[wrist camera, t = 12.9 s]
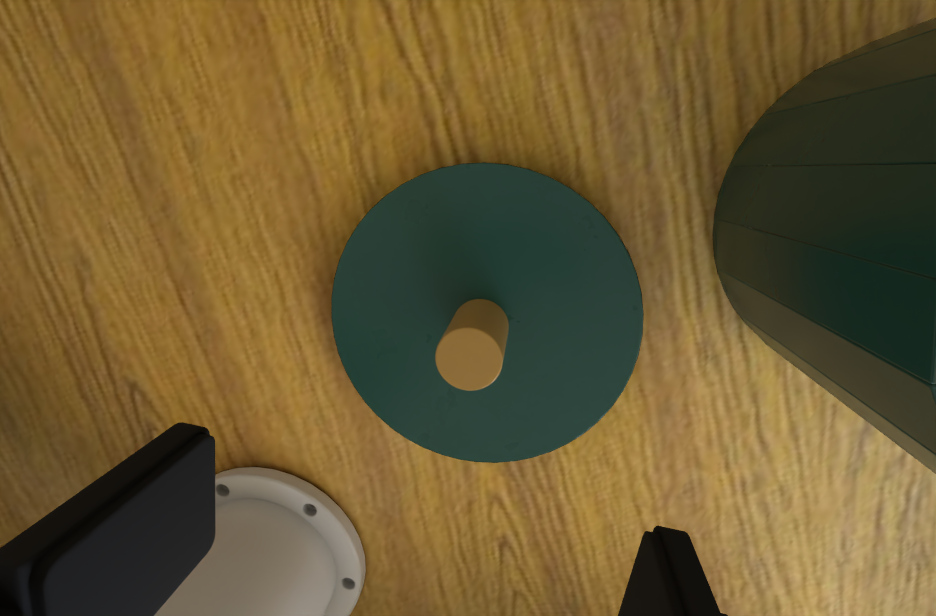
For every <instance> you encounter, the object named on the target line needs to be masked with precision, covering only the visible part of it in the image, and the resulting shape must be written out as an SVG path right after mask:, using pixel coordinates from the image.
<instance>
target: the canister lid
mask: <svg viewBox="0 0 936 616" xmlns="http://www.w3.org/2000/svg"><path fill="white" fill-rule="evenodd" d="M332 324H333V332H334V338H335V341H336V345H337V349H338V353H339V356H340V358H341V361H342V363H343V366H344V368H345V371H346V373H347V374H348V376H349V378H350V380H351V382H352V384H353V385H354V387H355V389H356V390H357V391H358V393H359V394H360V396H361V397H362V398H363V400H364V401H365V403H366V404H367V405H368V406H369V407H370V408H371V409H372V410H373V411H374V412H375V414H376V415H377V416H378V417H379V418H381V419H382V420H383V421H384V422H385V423H386V424H387V425H389V426H390V427H391V428H392V429H394V430H395V431H397V432H398V433H399V434H401V435H402V436H404V437H405V438H407V439H408V440H410V441H412V442H414V443H416V444H418V445H420V446H422V447H423V448H426V449H429V450H431V451H434V452H436V453H439V454H441V455H445V456H449V457H452V458H456V459H461V460H467V461H474V462H492V463H498V462H510V461H518V460H523V459H528V458H533V457H536V456H539V455H542V454H545V453H548V452H551V451H553V450H555V449H557V448H560V447H562V446H564V445H566V444H568V443H570V442H571V441H573V440H574V439H576V438H577V437H579V436H581V435H582V434H584V433H585V432H586V431H587V430H589V429H590V428H591V427H592V426H593V425H595V424H596V423H597V422H598V421H599V420H600V419H601V418H602V417H603V416H604V415H605V414H606V413H607V412H608V410H609V409H610V408H611V407H612V406H613V405H614V403H615V402H616V400H617V399H618V397H619V396H620V395H621V393H622V392H623V390H624V388H625V386H626V384H627V382H628V380H629V378H630V376H631V374H632V372H633V369H634V366H635V363H636V360H637V358H638V355H639V350H640V345H641V339H642V334H643V304H642V294H641V289H640V285H639V281H638V277H637V273H636V270H635V268H634V265H633V263H632V260H631V258H630V255H629V253H628V251H627V249H626V248H625V246H624V244H623V242H622V241H621V239H620V237H619V235H618V234H617V232H616V231H615V230H614V229H613V227H612V226H611V225H610V223H609V222H608V221H607V220H606V218H605V217H604V216H603V215H602V214H601V213H600V212H599V211H598V210H597V209H596V208H595V207H594V206H593V205H592V204H591V203H590V202H589V201H587V200H586V199H585V198H583V197H582V196H580V195H579V194H578V193H576V192H575V191H574V190H572V189H571V188H569V187H568V186H566V185H564V184H562V183H560V182H558V181H556V180H555V179H553V178H551V177H549V176H546V175H543V174H540V173H538V172H535V171H532V170H530V169H526V168H521V167H517V166H512V165H508V164H497V163H466V164H459V165H453V166H448V167H443V168H439V169H436V170H433V171H431V172H428V173H425V174H422V175H420V176H418V177H416V178H414V179H412V180H410V181H408V182H406V183H404V184H402V185H400V186H399V187H397V188H396V189H395V190H393V191H392V192H390V193H389V194H387V195H386V196H385V197H384V198H382V199H381V200H380V201H379V202H378V203H377V204H376V205H375V206H374V207H373V208H372V209H371V210H370V211H369V212H368V213H367V214H366V216H365V217H364V218H363V219H362V221H361V222H360V223H359V224H358V225H357V227H356V229H355V230H354V232H353V234H352V235H351V237H350V239H349V240H348V242H347V244H346V246H345V249H344V251H343V253H342V256H341V258H340V260H339V264H338V267H337V271H336V274H335V278H334V284H333V292H332Z"/></svg>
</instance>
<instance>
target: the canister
mask: <svg viewBox="0 0 936 616" xmlns="http://www.w3.org/2000/svg"><path fill="white" fill-rule="evenodd" d="M713 247H714V257H715V262H716V267H717V272H718V275H719V278H720V281H721V284H722V286H723V289H724V292H725V293H726V295H727V297H728V299H729V301H730V303H731V304H732V306H733V308H734V309H735V311H736V312H737V314H738V315H739V316H740V317H741V319H742V320H743V321H744V322H745V323H746V324H747V325H748V326H749V327H750V328H751V329H752V330H753V331H754V332H755V333H756V334H757V335H758V336H759V337H760V338H761V339H762V340H763V341H764V342H765V344H766V345H768V346H769V347H770V348H772V349H773V350H774V351H776V352H777V353H778V354H779V355H781V356H782V357H783V358H785V359H786V360H787V361H789V362H790V363H791V364H793V365H794V366H795V367H796V368H798V369H799V370H800V371H802V372H803V373H804V374H806V375H807V376H808V377H810V378H811V379H812V380H813V381H815V382H816V383H817V384H819V385H820V386H821V387H823V388H824V389H825V390H827V391H828V392H829V393H830V394H832V395H833V396H834V397H836V398H837V399H838V400H840V401H841V402H842V403H844V404H845V405H846V406H847V407H849V408H850V409H851V410H853V411H854V412H855V413H857V414H858V415H859V416H861V417H862V418H863V419H864V420H866V421H867V422H868V423H870V424H871V425H872V426H874V427H875V428H876V429H878V430H879V431H880V432H881V433H883V434H884V435H885V436H887V437H888V438H889V439H891V440H892V441H893V442H895V443H896V444H897V445H898V446H900V447H901V448H902V449H904V450H905V451H906V452H908V453H909V454H910V455H912V456H913V457H914V458H915V459H917V460H918V461H919V462H921V463H922V464H923V465H925V466H926V467H927V468H929V469H930V470H931V471H932V472H934V473H935V474H936V18H934V19H931V20H928V21H926V22H923V23H920V24H918V25H915V26H912V27H910V28H907V29H905V30H902V31H899V32H897V33H894V34H891V35H889V36H886V37H883V38H881V39H878V40H876V41H873V42H871V43H869V44H867V45H865V46H863V47H861V48H859V49H857V50H855V51H853V52H851V53H848V54H846V55H844V56H842V57H840V58H838V59H835V60H833V61H831V62H829V63H828V64H826V65H824V66H823V67H821V68H819V69H817V70H815V71H814V72H813V73H811V74H809V75H808V76H806V77H805V78H804V79H802V80H801V81H800V82H799V83H797V84H796V85H795V86H793V87H792V88H791V89H789V90H788V91H787V92H786V93H785V94H783V95H782V96H781V97H780V98H779V99H778V100H777V101H776V102H775V103H774V104H773V105H772V106H771V107H770V108H769V109H768V110H767V111H766V112H765V113H764V114H763V116H762V117H761V118H760V119H759V120H758V122H757V123H756V124H755V125H754V126H753V128H752V129H751V130H750V132H749V133H748V135H747V136H746V138H745V139H744V141H743V142H742V144H741V145H740V147H739V148H738V150H737V152H736V154H735V156H734V158H733V160H732V162H731V164H730V166H729V168H728V170H727V172H726V175H725V177H724V180H723V183H722V186H721V189H720V191H719V195H718V200H717V204H716V209H715V214H714V226H713Z"/></svg>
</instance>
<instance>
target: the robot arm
mask: <svg viewBox="0 0 936 616" xmlns="http://www.w3.org/2000/svg"><path fill="white" fill-rule="evenodd" d="M365 573H366V566H365V554H364V551H363V547H362V544H361V540H360V538H359V536H358V534H357V532H356V530H355V528H354V526H353V524H352V523H351V521H350V520H349V519H348V517H347V516H346V515H345V513H344V512H343V511H342V509H341V508H340V507H339V506H338V505H337V504H336V503H335V502H334V501H333V500H332V499H331V498H329V497H328V496H327V495H326V494H325V493H323V492H322V491H320V490H319V489H317V488H316V487H315V486H313V485H312V484H310V483H308V482H306V481H304V480H302V479H300V478H298V477H296V476H294V475H291V474H288V473H284V472H281V471H278V470H275V469H267V468H260V467H244V468H235V469H231V470H227V471H223V472H220V473H218V474H216V475H215V439H214V437H213V436H210V434H209V431H208V429H207V428H205V427H201V426H197V425H192V424H187V423H183V422H182V423H177V424H175V425H173V426H172V427H171V428H169V429H168V430H166V431H165V432H164V433H162V434H161V435H159V436H158V437H157V438H155V439H154V440H152V441H151V442H149V443H148V444H147V445H145V446H144V447H142V448H141V449H140V450H138V451H137V452H135V453H134V454H133V455H131V456H130V457H128V458H127V459H125V460H124V461H123V462H121V463H120V464H118V465H117V466H116V467H114V468H113V469H111V470H110V471H109V472H107V473H106V474H104V475H103V476H101V477H100V478H99V479H97V480H96V481H94V482H93V483H92V484H90V485H89V486H87V487H86V488H85V489H83V490H82V491H80V492H79V493H77V494H76V495H75V496H73V497H72V498H70V499H69V500H68V501H66V502H65V503H63V504H62V505H61V506H59V507H58V508H56V509H55V510H53V511H52V512H51V513H49V514H48V515H46V516H45V517H44V518H42V519H41V520H39V521H38V522H36V523H35V524H34V525H32V526H31V527H29V528H28V529H27V530H25V531H24V532H22V533H21V534H20V535H18V536H17V537H15V538H14V539H12V540H11V541H10V542H8V543H7V544H5V545H4V546H3V547H1V548H0V616H349V615H350V613H351V612H352V610H353V608H354V607H355V605H356V603H357V601H358V598H359V596H360V593H361V591H362V588H363V585H364V579H365ZM618 616H728V615H727V614H723V613H720V611H719V608H718V606H717V603H716V601H715V598H714V596H713V593H712V591H711V589H710V586H709V584H708V581H707V579H706V576H705V574H704V571H703V569H702V566H701V564H700V561H699V559H698V557H697V554H696V552H695V549H694V547H693V544H692V542H691V539H690V537H689V535H688V533H686V532H684V531H680V530H675V529H671V528H666V527H661V526H656V527H655V528H654V530H653V532H649V531H645V533H644V534H643V537H642V540H641V543H640V547H639V550H638V553H637V556H636V559H635V563H634V566H633V569H632V572H631V575H630V579H629V582H628V585H627V588H626V591H625V595H624V598H623V601H622V604H621V607H620V611H619V614H618Z"/></svg>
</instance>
